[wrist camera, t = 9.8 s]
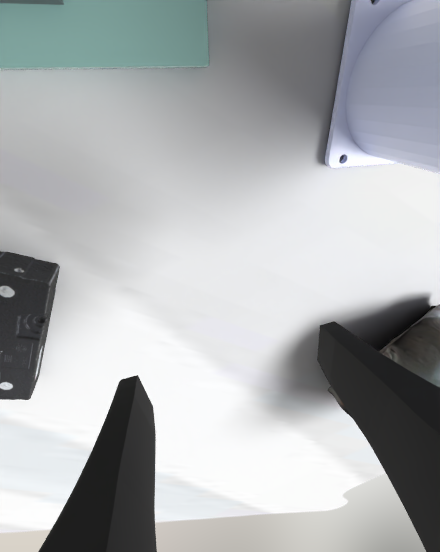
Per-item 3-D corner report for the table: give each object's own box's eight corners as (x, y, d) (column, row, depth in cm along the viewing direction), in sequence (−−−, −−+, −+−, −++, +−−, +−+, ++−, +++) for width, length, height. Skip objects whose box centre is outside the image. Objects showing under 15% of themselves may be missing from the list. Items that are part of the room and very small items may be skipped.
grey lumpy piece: (467, 283, 27) (636, 433, 20) (387, 335, 36) (485, 447, 30) (357, 350, 21) (543, 586, 15) (298, 390, 31) (394, 542, 24)
